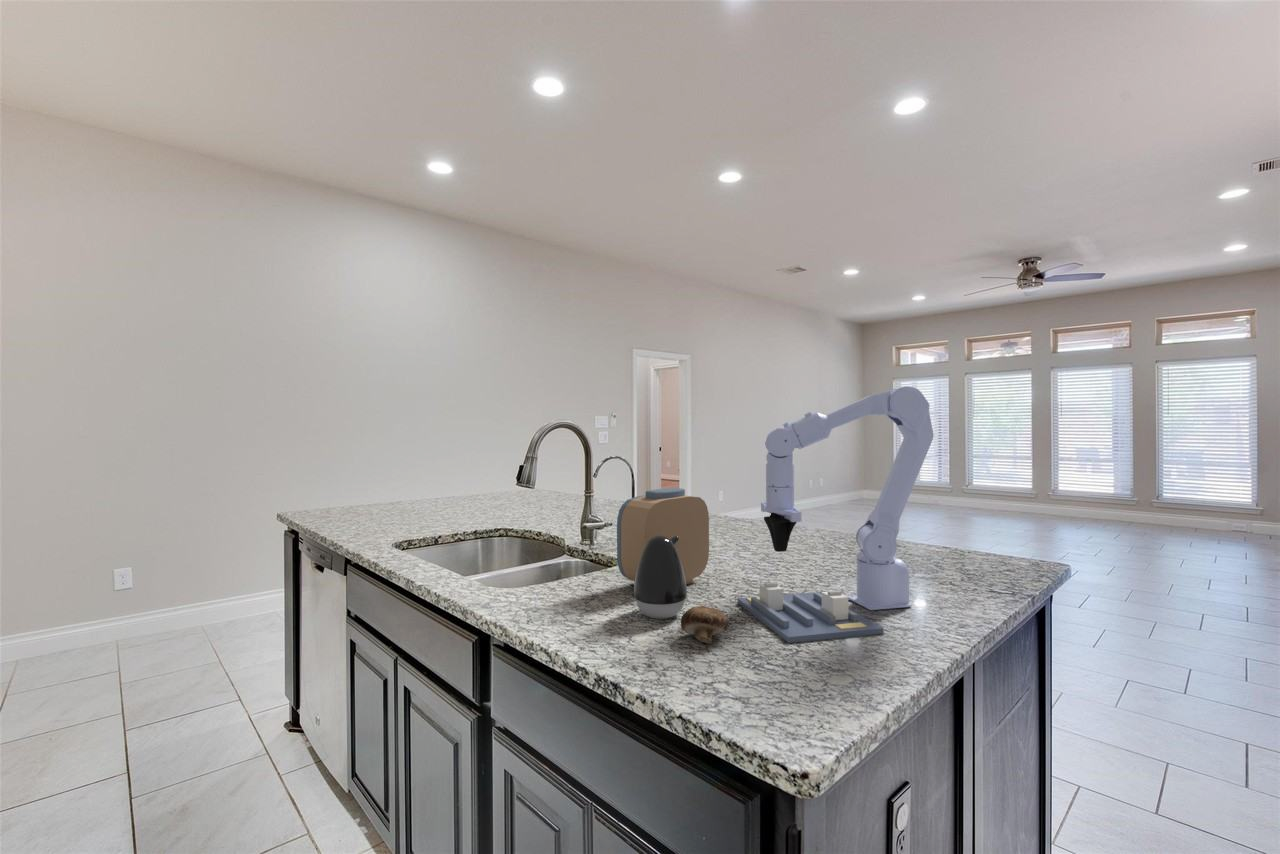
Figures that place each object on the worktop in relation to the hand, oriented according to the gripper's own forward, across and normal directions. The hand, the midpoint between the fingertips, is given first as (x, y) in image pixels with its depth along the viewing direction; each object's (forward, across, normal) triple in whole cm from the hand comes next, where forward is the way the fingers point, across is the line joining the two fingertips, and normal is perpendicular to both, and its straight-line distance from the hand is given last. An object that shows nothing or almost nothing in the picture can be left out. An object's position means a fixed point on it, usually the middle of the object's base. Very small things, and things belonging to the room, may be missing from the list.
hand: (780, 550), depth 121 cm
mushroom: (+10, +18, -23) cm, 31 cm away
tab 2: (+9, +16, +3) cm, 18 cm away
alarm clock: (+10, -16, -21) cm, 28 cm away
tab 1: (+9, +8, -6) cm, 13 cm away
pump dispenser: (+10, +4, -27) cm, 29 cm away
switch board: (+10, +12, -1) cm, 16 cm away
